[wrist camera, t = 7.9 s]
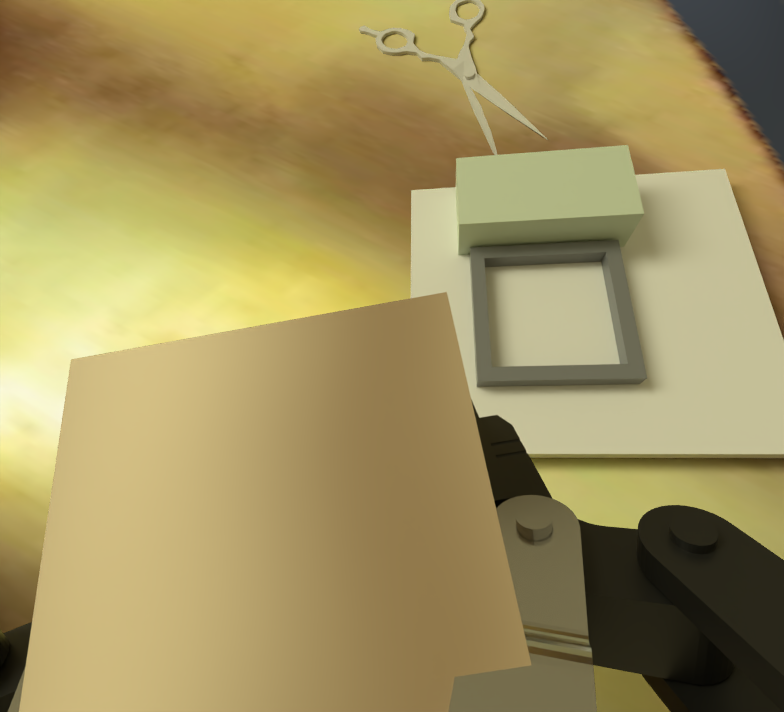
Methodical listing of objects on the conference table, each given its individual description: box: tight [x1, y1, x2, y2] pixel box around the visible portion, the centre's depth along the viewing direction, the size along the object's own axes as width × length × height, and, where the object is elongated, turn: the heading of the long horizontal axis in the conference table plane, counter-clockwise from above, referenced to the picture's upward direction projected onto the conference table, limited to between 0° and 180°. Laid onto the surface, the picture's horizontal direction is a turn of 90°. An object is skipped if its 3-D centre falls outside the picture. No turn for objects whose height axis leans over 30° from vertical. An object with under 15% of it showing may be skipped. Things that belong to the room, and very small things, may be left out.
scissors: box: [359, 0, 548, 155], centre depth 36 cm, size 11×1×20 cm
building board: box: [411, 169, 784, 458], centre depth 26 cm, size 20×18×2 cm
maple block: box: [19, 292, 531, 712], centre depth 9 cm, size 5×5×10 cm
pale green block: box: [456, 145, 644, 255], centre depth 27 cm, size 10×5×3 cm, turn 89°
